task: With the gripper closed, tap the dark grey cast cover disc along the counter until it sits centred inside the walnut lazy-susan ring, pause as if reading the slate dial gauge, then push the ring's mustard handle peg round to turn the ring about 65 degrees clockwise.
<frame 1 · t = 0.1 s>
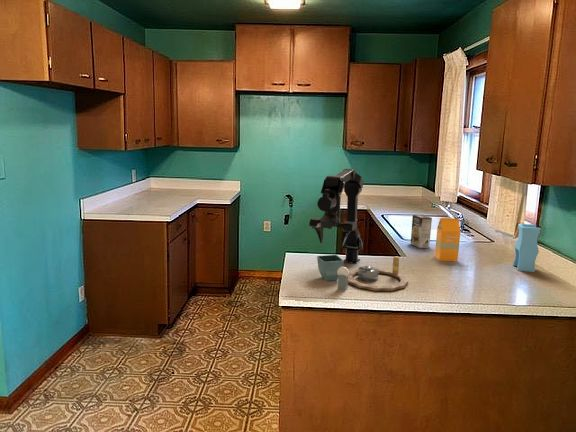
hand: (331, 244, 193), 15 cm above the worktop, tool pointing down, fingers open, 9 cm apart
orange juice: (445, 259, 228), on the worktop
coffee box: (419, 245, 251), on the worktop
lazy susan ring: (376, 270, 192), point 5 cm above the worktop, hinge at 0.0°
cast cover: (368, 278, 197), resting in lazy susan ring
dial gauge: (342, 289, 183), on the worktop
flower pot: (329, 279, 195), on the worktop
vase: (523, 269, 214), on the worktop
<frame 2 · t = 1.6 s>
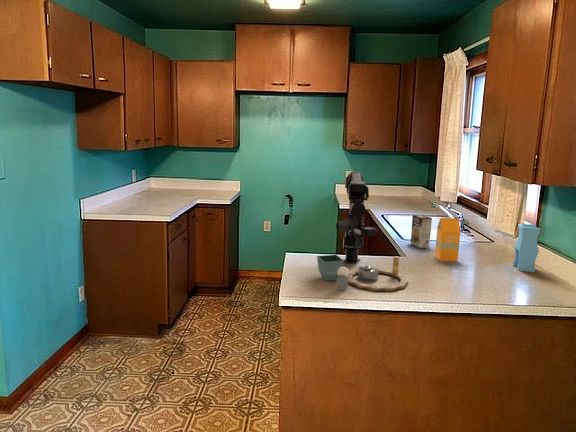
hand: (354, 248, 201), 11 cm above the worktop, tool pointing down, fingers closed
nothing on the worktop moved.
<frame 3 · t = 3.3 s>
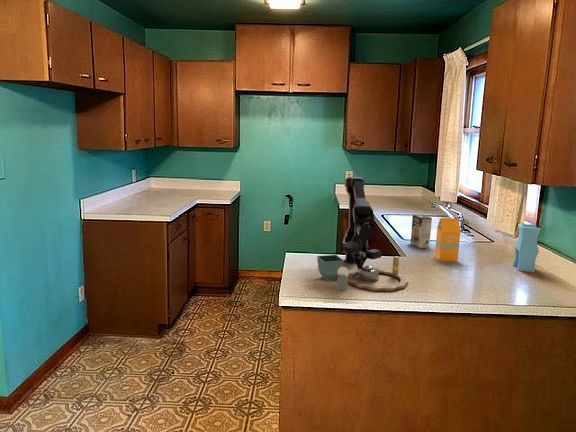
hand: (359, 269, 200), 2 cm above the worktop, tool pointing down, fingers closed
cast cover: (368, 278, 197), resting in lazy susan ring, touching gripper
everything else where it was.
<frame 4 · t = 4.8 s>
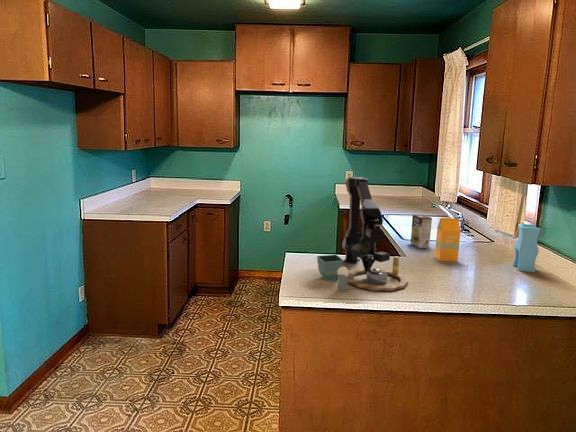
hand: (366, 272, 197), 2 cm above the worktop, tool pointing down, fingers closed
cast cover: (376, 281, 193), resting in lazy susan ring
everything else where it was.
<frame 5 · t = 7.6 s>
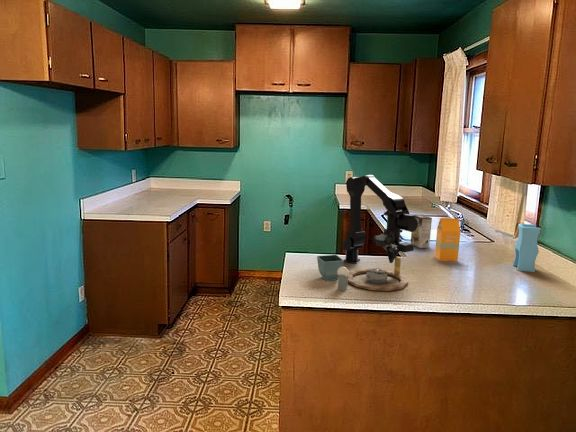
hand: (391, 262, 199), 6 cm above the worktop, tool pointing down, fingers closed
lazy susan ring: (376, 270, 192), point 5 cm above the worktop, hinge at -5.2°, touching gripper
everything else where it was.
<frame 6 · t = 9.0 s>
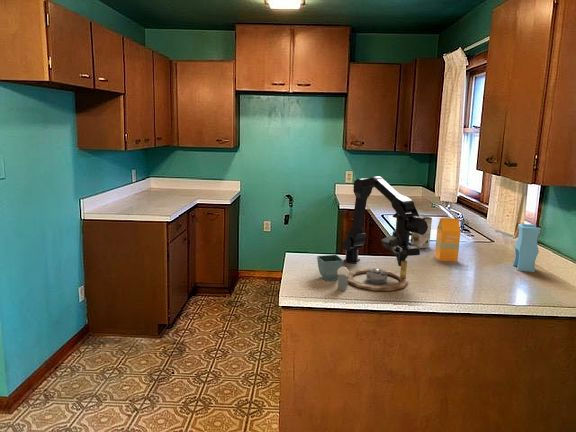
hand: (399, 266, 195), 6 cm above the worktop, tool pointing down, fingers closed
lazy susan ring: (376, 270, 192), point 5 cm above the worktop, hinge at -32.2°, touching gripper
everything else where it was.
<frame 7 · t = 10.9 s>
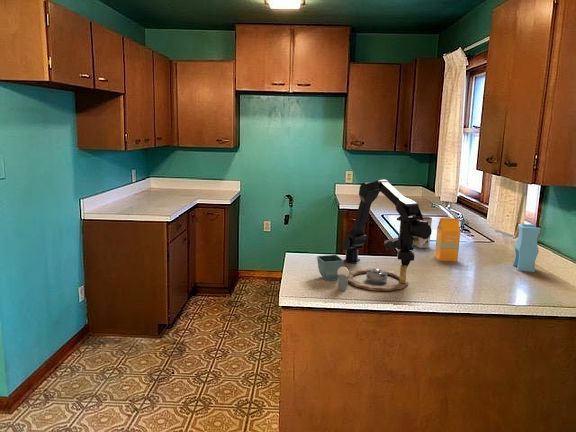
hand: (403, 270, 189), 6 cm above the worktop, tool pointing down, fingers closed
lazy susan ring: (376, 270, 192), point 5 cm above the worktop, hinge at -66.6°, touching gripper
everything else where it was.
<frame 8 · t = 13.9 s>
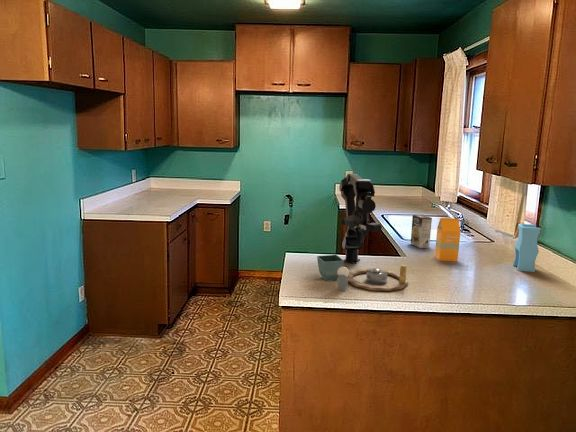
hand: (360, 243, 205), 12 cm above the worktop, tool pointing down, fingers closed
lazy susan ring: (376, 270, 192), point 5 cm above the worktop, hinge at -67.0°
everything else where it was.
at the end: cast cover 0.1 cm from the lazy susan ring (horizontally); lazy susan ring at -67° (first picture: +0°) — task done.
